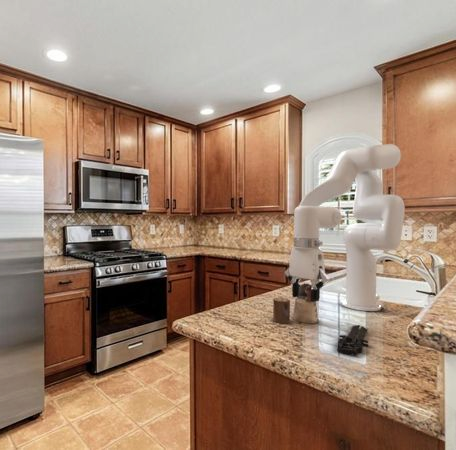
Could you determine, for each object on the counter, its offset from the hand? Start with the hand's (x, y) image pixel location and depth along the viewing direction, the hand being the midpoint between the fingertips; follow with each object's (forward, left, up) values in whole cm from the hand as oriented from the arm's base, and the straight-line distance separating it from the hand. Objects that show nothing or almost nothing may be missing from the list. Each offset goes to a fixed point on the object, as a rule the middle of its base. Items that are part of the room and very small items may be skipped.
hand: (305, 298), depth 102 cm
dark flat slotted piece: (+3, +17, -7) cm, 19 cm away
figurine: (0, 0, -7) cm, 7 cm away
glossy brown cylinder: (+8, -3, -7) cm, 11 cm away
